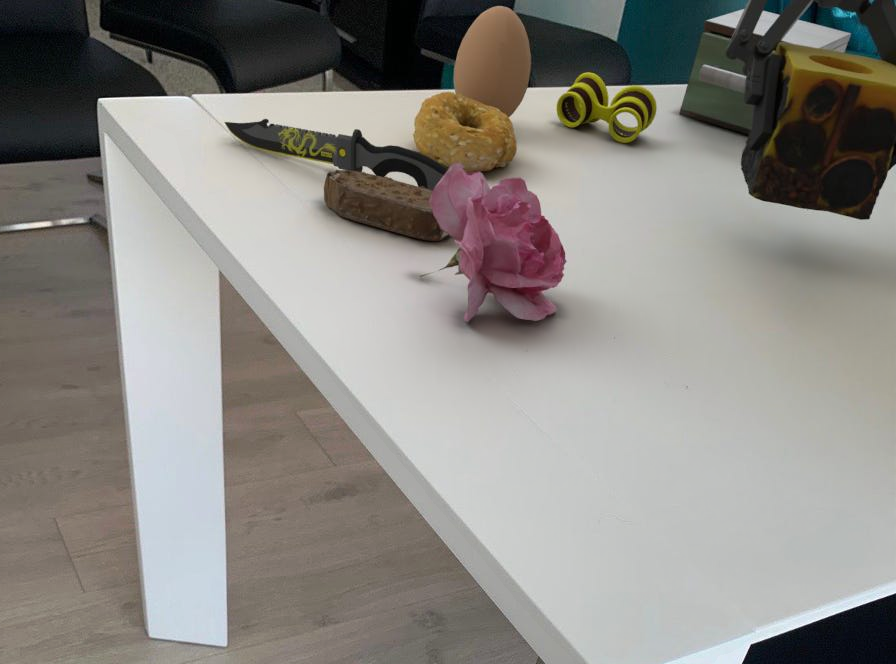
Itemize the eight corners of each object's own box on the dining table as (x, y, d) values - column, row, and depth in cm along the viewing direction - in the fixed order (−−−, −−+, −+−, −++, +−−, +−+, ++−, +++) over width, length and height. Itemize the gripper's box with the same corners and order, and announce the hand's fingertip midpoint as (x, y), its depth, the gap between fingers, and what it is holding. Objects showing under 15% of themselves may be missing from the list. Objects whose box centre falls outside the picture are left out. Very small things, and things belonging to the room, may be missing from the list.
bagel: (411, 169, 93) (418, 113, 90) (410, 132, 101) (417, 80, 98) (518, 184, 94) (529, 129, 90) (509, 147, 102) (519, 95, 99)
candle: (869, 224, 84) (926, 92, 77) (747, 200, 84) (793, 66, 78) (848, 184, 92) (898, 61, 85) (736, 162, 92) (777, 38, 85)
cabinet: (782, 145, 117) (816, 49, 110) (678, 113, 121) (705, 20, 114) (818, 121, 127) (851, 33, 121) (722, 93, 132) (749, 6, 125)
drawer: (763, 145, 112) (790, 65, 107) (666, 115, 116) (688, 37, 110) (810, 116, 125) (837, 43, 120) (722, 90, 129) (743, 19, 124)
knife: (222, 167, 93) (217, 107, 90) (232, 164, 94) (228, 104, 91) (453, 213, 85) (456, 149, 82) (460, 209, 86) (465, 145, 83)
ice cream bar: (336, 193, 86) (339, 159, 84) (505, 239, 83) (512, 205, 81) (309, 211, 82) (311, 176, 80) (485, 261, 79) (492, 225, 77)
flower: (559, 345, 77) (621, 273, 68) (439, 365, 74) (487, 292, 65) (514, 210, 79) (568, 122, 69) (394, 223, 76) (434, 133, 66)
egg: (518, 121, 109) (540, 5, 102) (519, 142, 103) (542, 21, 96) (448, 109, 109) (465, -8, 102) (445, 130, 103) (463, 7, 96)
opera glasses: (550, 130, 111) (557, 82, 107) (570, 111, 114) (577, 64, 110) (633, 155, 108) (644, 107, 104) (651, 135, 111) (662, 88, 107)
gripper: (958, -50, 89) (934, 196, 87) (702, -95, 87) (674, 153, 86) (1015, -117, 81) (989, 151, 80) (736, -168, 80) (705, 103, 78)
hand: (826, 152), depth 83 cm, fingers closed on candle, 10 cm apart
